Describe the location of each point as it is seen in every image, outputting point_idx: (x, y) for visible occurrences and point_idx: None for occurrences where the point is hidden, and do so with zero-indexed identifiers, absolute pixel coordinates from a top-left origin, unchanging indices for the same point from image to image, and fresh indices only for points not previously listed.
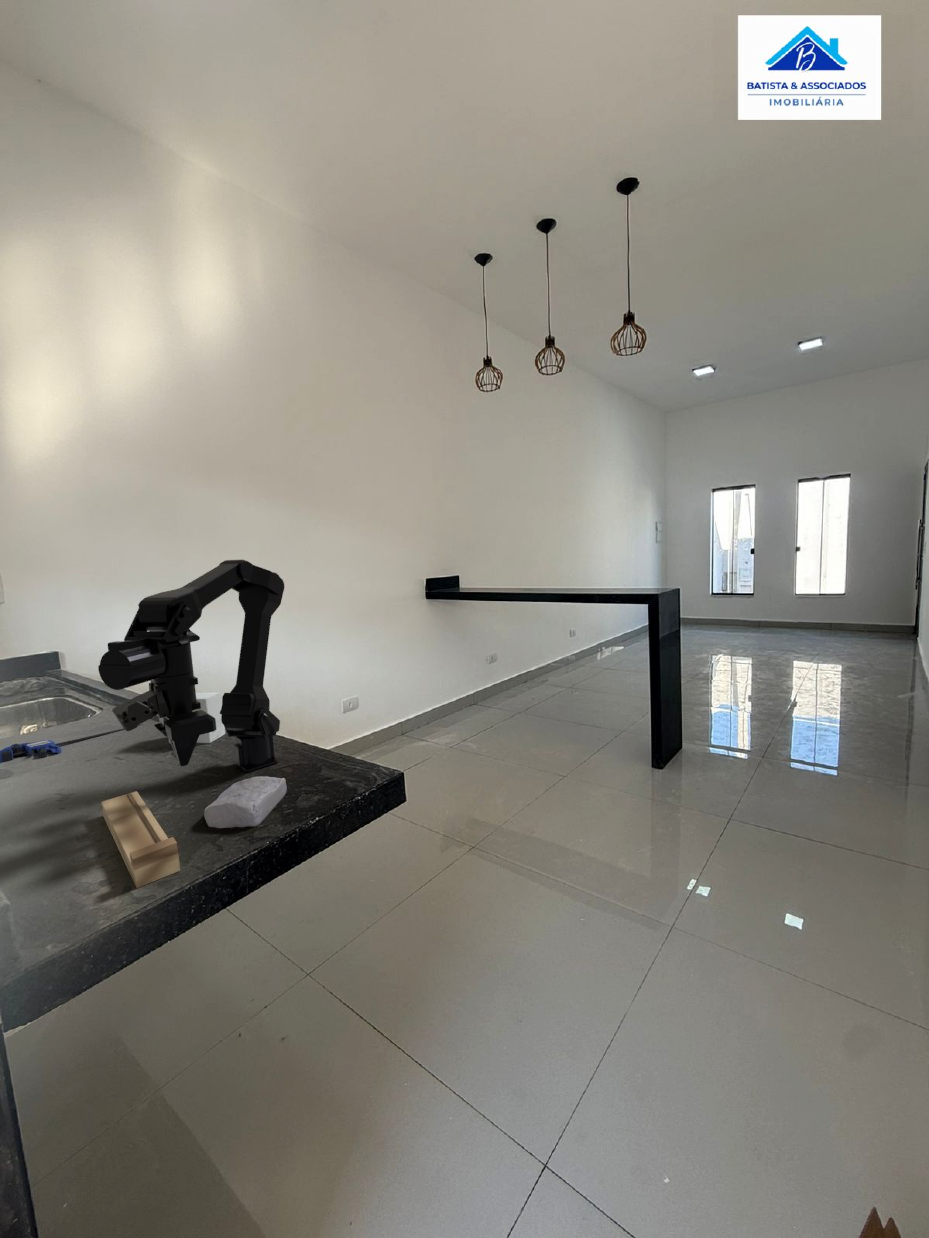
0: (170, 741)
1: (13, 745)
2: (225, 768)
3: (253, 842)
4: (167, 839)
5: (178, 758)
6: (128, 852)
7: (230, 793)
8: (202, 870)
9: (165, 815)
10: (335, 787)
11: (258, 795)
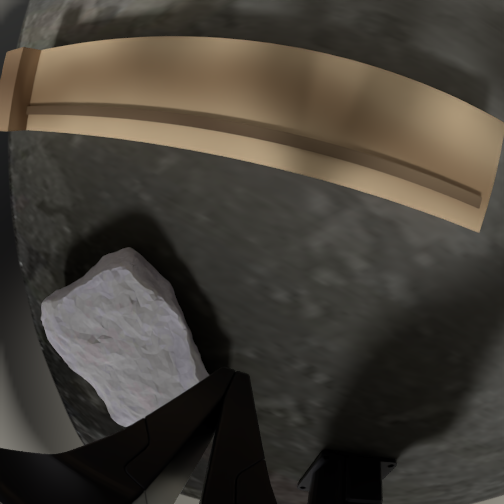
0: (241, 487)
1: None
2: (402, 441)
3: (30, 252)
4: (7, 119)
5: (195, 388)
6: (75, 48)
7: (160, 355)
8: (18, 154)
9: (301, 221)
10: (107, 428)
11: (56, 346)
